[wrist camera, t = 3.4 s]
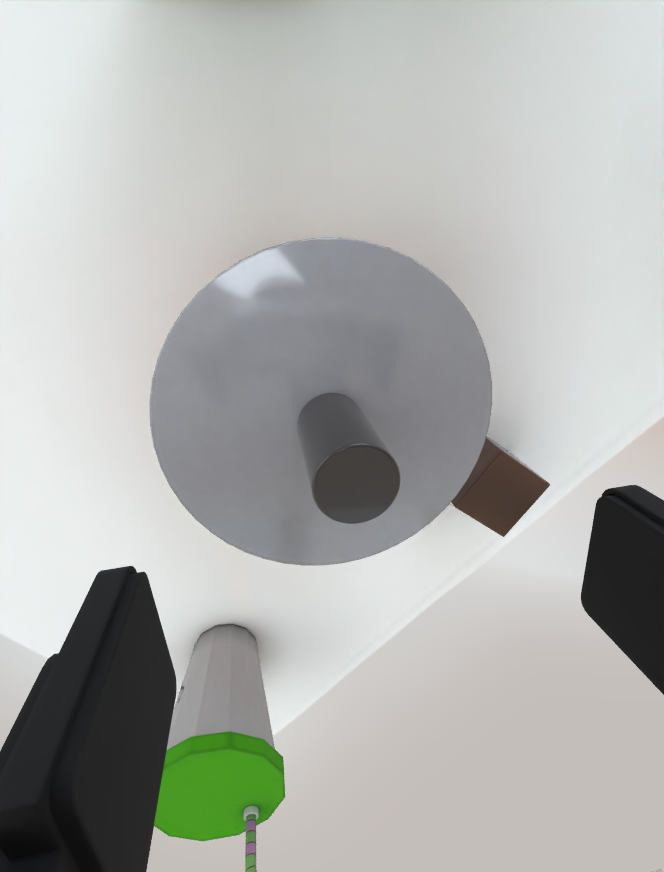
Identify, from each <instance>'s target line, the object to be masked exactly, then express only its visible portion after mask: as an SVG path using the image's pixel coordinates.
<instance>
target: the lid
mask: <svg viewBox="0 0 664 872" xmlns="http://www.w3.org/2000/svg"><path fill="white" fill-rule="evenodd" d="M491 406H492V382H491V374H490V367H489V361H488V357H487V354H486V350H485V347H484V343H483V340H482V338H481V336H480V334H479V331H478V329H477V327H476V324H475V322H474V321H473V319H472V317H471V316H470V314H469V312H468V311H467V309H466V308H465V306H464V304H463V303H462V302H461V301H460V299H459V298H458V297H457V296H456V295H455V294H454V292H453V291H452V290H451V289H450V288H449V286H447V285H446V284H445V283H444V282H443V281H442V280H441V279H440V278H438V277H437V276H436V275H435V274H434V273H433V272H432V271H430V270H429V269H427V268H426V267H424V266H423V265H421V264H419V263H418V262H416V261H415V260H413V259H412V258H410V257H408V256H405V255H403V254H401V253H399V252H397V251H394V250H392V249H390V248H387V247H384V246H380V245H377V244H373V243H370V242H366V241H360V240H353V239H346V238H311V239H305V240H298V241H292V242H287V243H284V244H280V245H277V246H274V247H271V248H267V249H264V250H262V251H260V252H257V253H255V254H253V255H251V256H249V257H247V258H245V259H242V260H240V261H239V262H237V263H236V264H234V265H233V266H231V267H230V268H228V269H227V270H225V271H223V272H222V273H220V274H219V275H218V276H216V277H215V278H214V279H213V280H212V281H211V282H210V283H208V284H207V285H206V286H205V287H204V288H203V289H202V290H201V291H199V292H198V293H197V295H196V296H195V297H194V298H193V299H192V301H191V302H190V303H189V304H188V305H187V306H186V308H185V309H184V310H183V311H182V313H181V314H180V316H179V317H178V319H177V321H176V322H175V324H174V325H173V327H172V329H171V330H170V332H169V333H168V336H167V338H166V340H165V343H164V345H163V347H162V349H161V352H160V354H159V357H158V360H157V364H156V367H155V371H154V375H153V378H152V386H151V395H150V426H151V432H152V438H153V444H154V448H155V451H156V454H157V457H158V460H159V463H160V467H161V469H162V471H163V473H164V475H165V477H166V479H167V481H168V483H169V485H170V487H171V488H172V490H173V491H174V493H175V494H176V496H177V497H178V499H179V500H180V502H181V503H182V504H183V506H184V507H185V508H186V509H187V510H188V511H189V512H190V513H191V514H192V516H193V517H194V518H195V519H196V520H197V521H198V522H200V523H201V524H202V525H203V526H204V527H205V528H207V529H208V530H209V531H210V532H211V533H213V534H214V535H216V536H217V537H219V538H220V539H222V540H223V541H225V542H226V543H228V544H230V545H232V546H234V547H236V548H238V549H240V550H242V551H244V552H246V553H249V554H252V555H255V556H258V557H261V558H263V559H267V560H272V561H276V562H281V563H287V564H296V565H330V564H339V563H345V562H349V561H354V560H359V559H362V558H365V557H368V556H371V555H374V554H377V553H380V552H382V551H384V550H387V549H389V548H391V547H393V546H395V545H397V544H399V543H401V542H403V541H404V540H406V539H408V538H409V537H411V536H413V535H414V534H416V533H417V532H418V531H420V530H421V529H422V528H424V527H425V526H426V525H428V524H429V523H430V522H431V521H432V520H433V519H435V518H436V517H437V516H438V515H439V514H440V513H441V512H442V511H443V510H444V509H445V508H446V507H447V506H448V505H449V503H450V502H451V501H452V500H453V499H454V498H455V496H456V495H457V494H458V492H459V491H460V490H461V488H462V487H463V485H464V484H465V482H466V481H467V479H468V478H469V476H470V474H471V472H472V470H473V468H474V466H475V464H476V463H477V460H478V458H479V455H480V453H481V450H482V448H483V445H484V442H485V438H486V434H487V430H488V427H489V422H490V414H491Z"/></svg>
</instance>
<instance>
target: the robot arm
mask: <svg viewBox="0 0 664 872" xmlns="http://www.w3.org/2000/svg"><path fill="white" fill-rule="evenodd" d="M581 602H582V605H583V607H584V609H585V611H586V612H587V614H588V615H589V616H590V617H591V618H592V619H593V620H594V621H595V622H596V623H597V624H598V626H600V628H601V629H602V630H603V631H604V632H605V633H606V634H607V635H608V636H609V637H610V638H611V639H612V640H613V641H614V642H615V644H616V645H617V646H618V647H619V648H620V649H621V650H622V651H623V652H624V653H625V654H626V655H627V656H628V657H629V658H630V659H631V661H632V662H633V663H634V664H635V665H636V666H637V667H638V668H639V669H640V670H641V671H642V672H643V673H644V674H645V675H646V676H647V678H648V679H650V681H651V682H652V683H653V684H654V685H655V686H656V687H657V688H658V689H659V690H660V691H661V692H662V693H663V694H664V500H662V499H660V498H658V497H657V496H655V495H653V494H652V493H650V492H648V491H647V490H645V489H643V488H641V487H639V486H637V485H629V486H623V487H617V488H611V489H607V490H605V491H604V493H603V494H602V497H601V498H599V499H598V500H597V503H596V508H595V514H594V520H593V527H592V532H591V538H590V544H589V550H588V556H587V562H586V568H585V574H584V580H583V586H582V592H581ZM175 698H176V676H175V671H174V668H173V664H172V661H171V657H170V654H169V650H168V647H167V643H166V640H165V636H164V633H163V629H162V626H161V622H160V619H159V615H158V612H157V608H156V605H155V601H154V598H153V594H152V591H151V587H150V584H149V580H148V577H147V575H146V573H145V572H140V573H137V572H136V569H135V568H134V567H133V566H128V567H121V568H115V569H109V570H103V571H100V572H99V573H98V574H97V575H96V577H95V579H94V582H93V584H92V586H91V588H90V590H89V592H88V594H87V596H86V598H85V600H84V602H83V604H82V606H81V609H80V611H79V613H78V615H77V617H76V619H75V621H74V623H73V625H72V627H71V629H70V631H69V633H68V636H67V638H66V640H65V642H64V644H63V646H62V648H61V650H60V652H59V654H54V655H52V656H51V657H50V658H49V659H48V660H47V661H46V663H45V665H44V666H43V668H42V670H41V672H40V673H39V675H38V678H37V679H36V681H35V683H34V685H33V688H32V689H31V691H30V693H29V695H28V697H27V699H26V701H25V703H24V705H23V707H22V709H21V711H20V713H19V715H18V717H17V719H16V721H15V723H14V725H13V727H12V729H11V731H10V733H9V735H8V737H7V739H6V741H5V743H4V745H3V747H2V749H1V751H0V872H146V869H147V863H148V857H149V851H150V845H151V839H152V833H153V827H154V822H155V816H156V810H157V804H158V798H159V792H160V786H161V780H162V774H163V769H164V763H165V757H166V751H167V745H168V739H169V733H170V727H171V721H172V715H173V709H174V703H175ZM652 872H664V868H663V869H660V870H656V871H652Z"/></svg>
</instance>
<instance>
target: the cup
mask: <svg viewBox="0 0 664 872" xmlns="http://www.w3.org/2000/svg"><path fill="white" fill-rule="evenodd" d="M284 798H285V785H284V765H283V757H282V756H281V755H280V754H279V753H278V752H277V751H276V750H275V748H274V742H273V737H272V731H271V725H270V719H269V714H268V708H267V702H266V696H265V691H264V685H263V679H262V673H261V668H260V662H259V656H258V650H257V645H256V639H255V637H254V636H253V635H252V634H251V633H250V632H249V631H248V630H247V629H246V628H243V627H240V626H236V625H233V624H228V625H219V626H214V627H213V628H211V629H209V630H207V631H206V632H204V633H202V634H201V636H200V638H199V639H198V641H197V643H196V644H195V646H194V650H193V653H192V656H191V659H190V662H189V665H188V668H187V671H186V674H185V677H184V680H183V683H182V686H181V689H180V692H179V695H178V699H177V702H176V705H175V708H174V711H173V715H172V721H171V727H170V733H169V739H168V745H167V751H166V757H165V763H164V769H163V774H162V780H161V786H160V792H159V798H158V804H157V810H156V816H155V822H154V826H155V827H157V828H158V829H160V830H161V831H163V832H164V833H166V834H167V835H168V836H172V837H179V838H186V839H192V840H199V841H206V840H212V839H217V838H224V837H229V836H234V835H239V834H241V833H243V832H245V831H246V872H257V871H256V825H258V824H260V823H262V822H263V821H265V820H267V819H268V818H269V817H270V816H271V815H272V813H273V812H274V811H275V809H276V808H277V807H278V805H279V804H280V803H281V802H282V800H283V799H284Z"/></svg>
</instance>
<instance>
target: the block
mask: <svg viewBox="0 0 664 872" xmlns="http://www.w3.org/2000/svg"><path fill="white" fill-rule="evenodd" d="M549 486H550V484H549V483H548V482H547V481H545V480H544V479H543V478H542V477H540V476H539V475H538V474H537V473H535V472H534V471H533V470H532V469H530V468H529V467H528V466H526V465H525V464H524V463H523V462H521V461H520V460H519V459H518V458H516V457H515V456H514V455H512V454H511V453H510V452H508V451H507V450H505V449H504V448H503V447H501V446H500V445H498V444H497V443H496V442H494V441H493V440H491V439H490V438H489V437H487V436H486V438H485V442H484V445H483V448H482V450H481V453H480V455H479V458H478V460H477V463H476V464H475V466H474V468H473V470H472V472H471V474H470V476H469V478H468V479H467V481H466V482H465V484H464V485H463V487H462V488H461V490H460V491H459V492H458V494H457V495H456V496H455V498H454V499H453V500H452V501H451V502H452V504H453V505H454V506H455V507H456V508H457V509H459V510H461V511H462V512H464V513H465V514H467V515H469V516H470V517H472V518H474V519H475V520H477V521H478V522H480V523H482V524H483V525H485V526H487V527H488V528H490V529H491V530H493V531H495V532H496V533H498V534H499V535H501V536H503V537H504V536H505V535H506V534H507V533H508V532H509V531H510V529H511V528H512V527H513V526H514V525H515V524H516V523H517V522H518V520H519V519H520V518H521V517H522V516H523V515H524V514H525V513H526V512H527V510H528V509H529V508H530V507H531V506H532V505H533V504H534V503H535V501H536V500H537V499H538V498H539V497H540V496H541V495H542V494H543V492H544V491H545V490H546V489H547V488H548V487H549Z"/></svg>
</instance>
